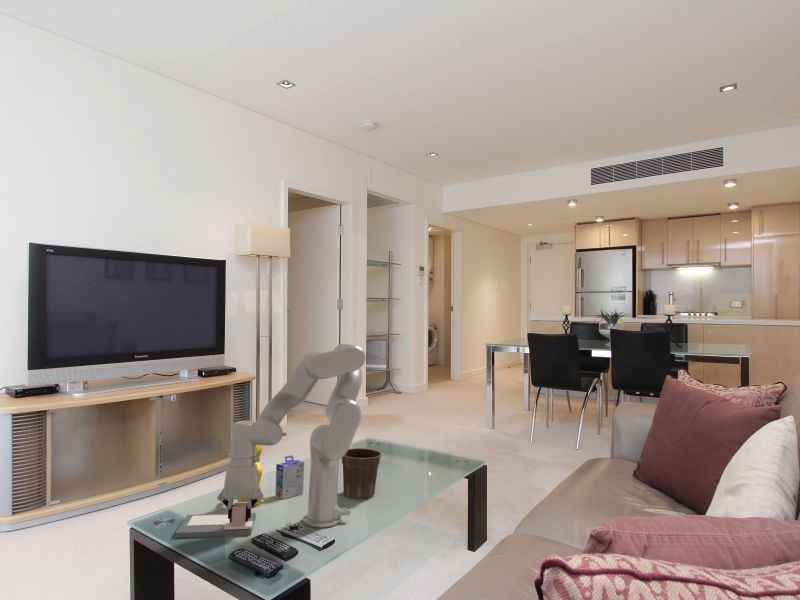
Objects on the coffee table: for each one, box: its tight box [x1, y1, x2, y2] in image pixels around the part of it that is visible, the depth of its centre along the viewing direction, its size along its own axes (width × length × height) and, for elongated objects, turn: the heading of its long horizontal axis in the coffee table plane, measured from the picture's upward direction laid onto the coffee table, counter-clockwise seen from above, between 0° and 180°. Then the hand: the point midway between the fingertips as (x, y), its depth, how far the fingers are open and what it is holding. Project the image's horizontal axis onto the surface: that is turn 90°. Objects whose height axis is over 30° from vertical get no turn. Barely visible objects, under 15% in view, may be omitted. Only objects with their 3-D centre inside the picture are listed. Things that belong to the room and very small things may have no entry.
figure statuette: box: [237, 445, 264, 507], centre depth 177 cm, size 18×8×22 cm, turn 60°
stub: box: [224, 501, 253, 530], centre depth 153 cm, size 8×4×7 cm, turn 100°
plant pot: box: [341, 447, 382, 500], centre depth 192 cm, size 16×16×16 cm
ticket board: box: [174, 512, 257, 539], centre depth 156 cm, size 22×14×2 cm, turn 100°
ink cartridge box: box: [275, 455, 305, 500], centre depth 189 cm, size 10×6×14 cm, turn 137°
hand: (239, 520), depth 153 cm, fingers closed on stub, 4 cm apart
